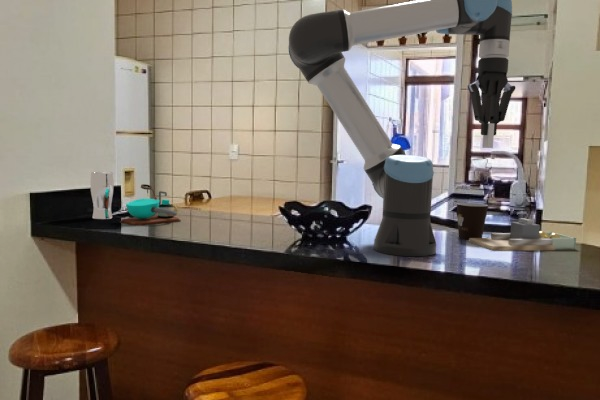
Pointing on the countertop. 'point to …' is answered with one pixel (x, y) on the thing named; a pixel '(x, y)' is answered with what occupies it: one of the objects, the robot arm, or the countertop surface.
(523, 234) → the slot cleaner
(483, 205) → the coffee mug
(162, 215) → the contraption on wooden base
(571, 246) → the tray
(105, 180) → the beer glass
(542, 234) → the brass ball
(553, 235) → the brass ball
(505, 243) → the jig board
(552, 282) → the countertop surface
